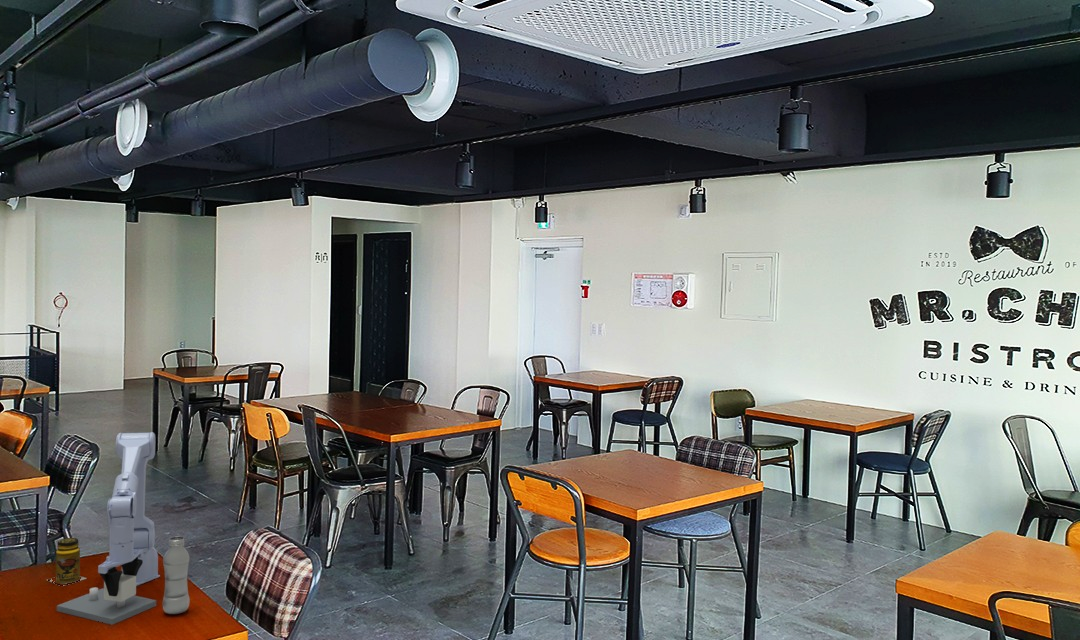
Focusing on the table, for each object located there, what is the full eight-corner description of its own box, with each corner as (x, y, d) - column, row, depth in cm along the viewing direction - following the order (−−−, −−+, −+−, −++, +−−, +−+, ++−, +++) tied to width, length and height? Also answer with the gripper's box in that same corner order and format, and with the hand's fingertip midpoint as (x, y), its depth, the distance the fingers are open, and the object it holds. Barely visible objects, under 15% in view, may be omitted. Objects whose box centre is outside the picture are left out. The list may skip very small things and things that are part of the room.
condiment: (62, 586, 235) (63, 545, 234) (45, 580, 239) (46, 539, 238) (87, 579, 241) (87, 538, 241) (70, 573, 245) (70, 533, 245)
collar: (118, 592, 221) (118, 573, 221) (135, 594, 220) (136, 576, 220) (103, 599, 216) (104, 580, 216) (121, 601, 215) (121, 582, 215)
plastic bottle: (179, 618, 215) (180, 543, 214) (156, 615, 217) (157, 540, 216) (194, 609, 222) (195, 536, 221) (172, 606, 223) (173, 533, 222)
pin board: (102, 593, 230) (102, 577, 230) (156, 605, 223) (156, 589, 223) (56, 611, 217) (56, 594, 217) (112, 624, 210) (112, 607, 210)
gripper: (127, 531, 226) (127, 580, 226) (88, 547, 211) (87, 599, 212) (150, 534, 224) (149, 583, 225) (112, 550, 210) (111, 602, 210)
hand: (121, 591), depth 218 cm, fingers closed on collar, 5 cm apart
